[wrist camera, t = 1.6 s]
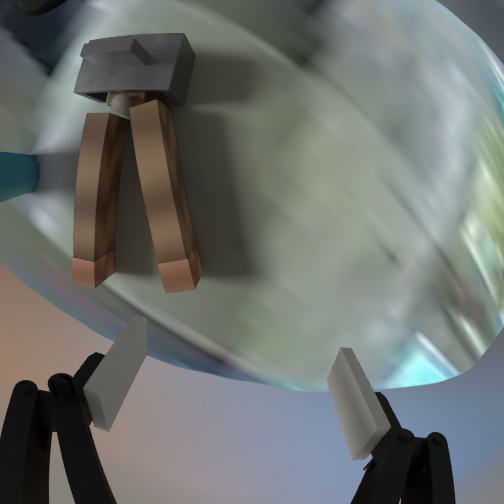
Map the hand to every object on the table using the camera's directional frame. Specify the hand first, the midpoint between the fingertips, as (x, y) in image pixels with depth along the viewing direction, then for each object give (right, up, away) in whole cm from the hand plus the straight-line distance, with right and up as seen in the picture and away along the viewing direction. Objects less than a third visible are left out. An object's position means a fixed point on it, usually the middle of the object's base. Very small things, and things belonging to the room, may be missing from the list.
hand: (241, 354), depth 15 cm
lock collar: (-11, +25, +9) cm, 29 cm away
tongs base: (-14, +15, +13) cm, 24 cm away
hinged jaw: (-8, +12, +13) cm, 19 cm away
